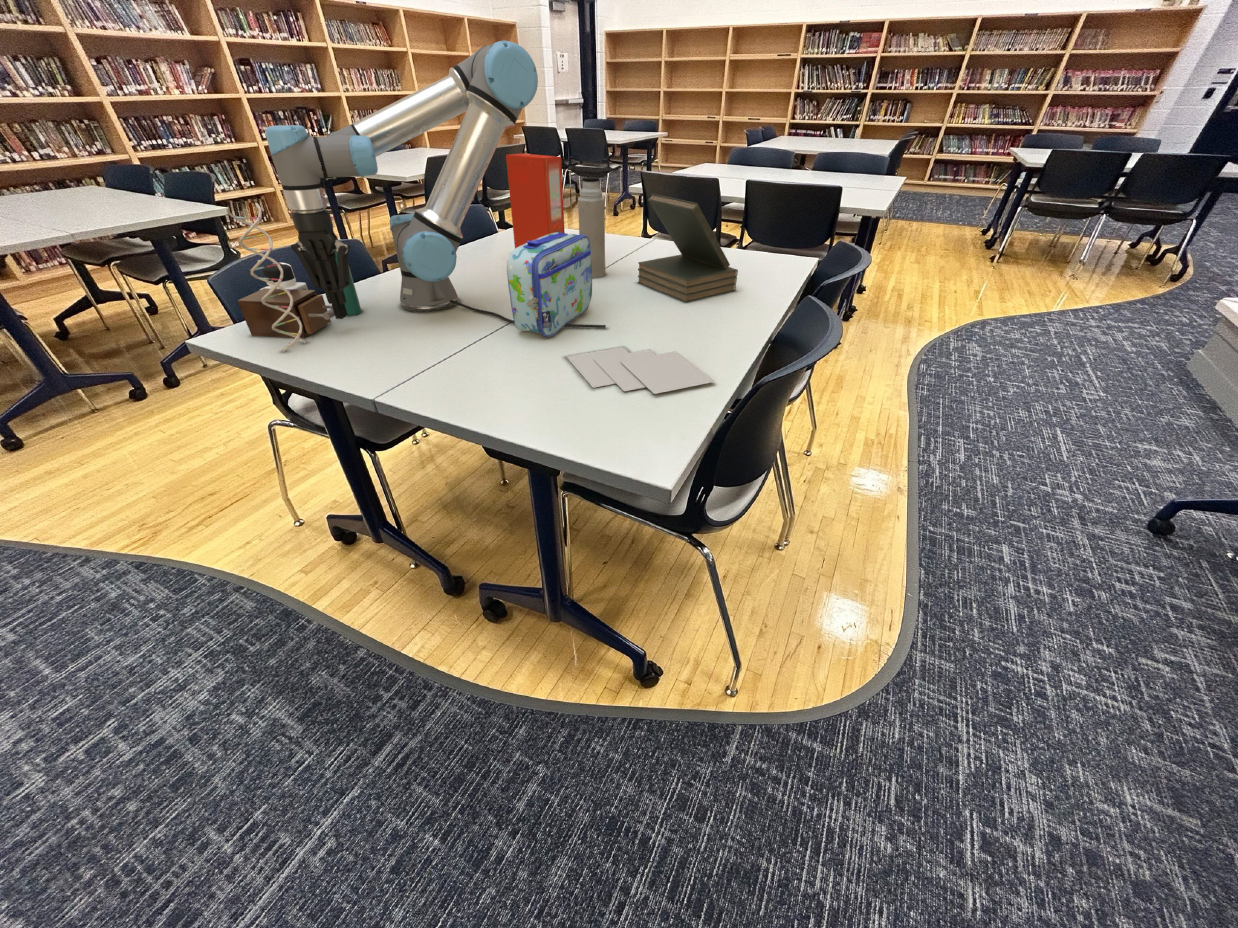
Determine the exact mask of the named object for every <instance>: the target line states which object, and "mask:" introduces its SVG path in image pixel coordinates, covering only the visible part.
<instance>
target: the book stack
mask: <svg viewBox="0 0 1238 928" xmlns="http://www.w3.org/2000/svg"><path fill="white" fill-rule="evenodd" d="M647 201H648V202H649V204H650V206H651V207H652V209H653V211H654V212H655V214H656V216H657V217H658V219H659V220H660V223H662V225H663V227H664V228H665V230H666V232H667V233H668V236H669V237H670V238H671V240H672V241H673V243H674V245H675V246H676V248H677V249H678V251H679V252H680V254H675V255H671V256H666V257H660V258H654V259H649V260H643V261H638V262H637V264H639V265H638V268H637V271H638V275H637V278H638V281H637V284H639V285H641V286H643V287H646V288H648V289H651V290H653V291H656V292H658V293H660V294H663V295H666V296H667V297H671V298H673V299H675V300H677V301H680V302H683V303H685V304H687V303H690V302H694V301H698V300H703V299H707V298H711V297H715V296H719V295H723V294H727V293H733V292H735V291H736V288H737V283H738V282H737V281H738V273H739V269H737V268H734V267H730V266H731V263H730V262H729V260H728V258H727V256H726V254H725V253H724V251H723V248H722V246H721V244H719V243H720V242H719V241H718V239H717V237H716V236H715V234H714V232H713V230H712V228H711V226H710V224H709V223H708V221H707V219H706V217H705V215H704V214H703V212H702V209H701V208H700V206H699V204H698V202H693V201H688V200H684V199H679V198H675V197H671V196H666V195H660V194H656V193H651V196H650V198H647Z"/></svg>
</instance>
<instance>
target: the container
mask: <svg viewBox="0 0 1238 928" xmlns="http://www.w3.org/2000/svg"><path fill="white" fill-rule="evenodd" d="M274 264H275V263H273V262H272V263H267V264H265V265H264V266H263V267H264V268H262V269H261V272H262V275H263V278H270V279H272V278H273V279H280V275H281V271H280V270H279V268H278V266H277V265H275V266H271V267H267V266H269V265H274ZM280 266H281V268H282V269H283V279H282V281H281V283H280V286H282V287H283V288H285V289H295V290H309V288H308V285H307V283H306V282H299V281H297V279H296V276H295V273H294V271H293V267H292V265H290V264H289V263H286V262H280ZM265 267H266V268H265ZM270 279H268V281H273V282H274V283H277V282H278V280H270ZM266 280H267V279H266ZM266 285H268V286H264V287H262V288H260V289H259V290H261V289H264V288H269V289H271V288H272V287H273V286H274V285H272V284H270V283H267V282H266ZM276 289H280V288H279V287H277V288H276Z"/></svg>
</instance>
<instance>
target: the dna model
mask: <svg viewBox="0 0 1238 928" xmlns="http://www.w3.org/2000/svg"><path fill="white" fill-rule="evenodd" d="M255 206H256V208H257V210H258V214H257V217H255V216H254V217H252V216H251V217H246V216H237V215H234V214H233V213H232V212H231V211H230V207H229V206H226V208H225V212H226V214H227V215H228V216H230V217H231V218H233V219H234V220H236V221H237V222H240V223H243V224H245V225H247V226H249V228H248V229H247V230H246V231H244V233H242V235H241V236H240V237H237V240H238V246H240V248H242V249H244V250H246V251H248V252H251V253H253V254H256V255H258V256H260V257H261V259H258V260H257V262H256V263H255V264H254V265H253V267H252V268H248V270H249V271H250V275H251V276H252V277H253V278H255V279H257V280H259V281H263V282H265V283H266V284H267V283H270V284H272V285H274V286H273V287H272V288H271V289H270V290H269V292H268V293H267V294H266V295H265V296H263V297H262V300H261V302H262V303H263V304H264V305H266V306H268V307H272V308H275V309H278V310H280V311H282V312H285V313H284V314H283V315H282V316H281V317H280V318H279V319H278V320H277V321H276V322H275V323H274V324H273V325H272V329H273V330H274V331H277V332H279V333H282V334H286V335H289V336H292V337H294V338H293V340H291V341H290V342H289V343H288V345H286V346H285V347H284V348H283V349H282V352H283V353H284V352H286V351H287V350H288V349H289V348H290V347H292V346H293V345H294V344H295V343H296V342H297V340H299V341H300V342H302V343H303V344H306V343H307V341H305V340H304V338H299V337H300V335H301V333H302V323H301V321H300V320H299V318H300V317H296V316H295V315H294V314H293V313H291V312H290V310H291V308H292V306H293V298H292V296H291V294H290V290H286V289H285V288H283V287H282V286H280V283H281V281H282V279H283V269H282V268H281V266H280V263H281V262H277V260H275V259H274V258H272V257H271V256H269V255H270V253H271V252H272V251H273V247H274V241H273V239H272V237H271V236H270V234H269V233H268V232H266V231H265V230H264V229H262V228H261V227H259V226H258V224H259V223H260V221H261V219H262V218H263V216H262V215H263V214H262V212H263V211H262V208H261V206H260V204H259V203H258V202H255ZM247 219H248V220H255V221H254V222H253V223H252V222H248V221H247ZM254 229H256V230H258V231H259V232H261V234H257V235H252V236H248V235H249V234H250V233H251V232H252V231H253V230H254ZM263 236H266V238H267V241H268V246H269V248H257V247H248V246H246V245H245V244H244V243H243V240H249V239H253V238H259V237H263ZM259 251H260V252H259ZM262 251H266V252H265V253H262ZM265 260H269V261H270V262H272V263H275V264H274V265H269V266H267V267H271V266H275V265H277V266H278V268H279V270H280V271H281V275H280V279H273V278H272V279H270V278H265V277H261V276H258V275H257V274H256V273H254V271H257V270H262V268H264V266H260V265H261V264H262V263H263V262H264V261H265ZM265 268H266V267H265ZM266 279H267V280H266ZM268 279H270V280H278V282H277V283H274V282H273V281H268ZM277 287H279V288H280V289H282V290H284V291H285V292H283V293H280V294H278V295H281V294H284V293H287V294H288V296H289V297H290V305H289V307H287V306H281V307H284V308H288V309H287V311H286V310H284V309H282V308H279V306H273V305H270V304H267V303H266V302H265V299H267V298H270V297H274V296H277V294H276V295H272V296H269V295H270V294H271V293H272V292H273V291H274V290H275V289H276V288H277ZM268 296H269V297H268ZM288 314H289V315H291V316H293V317H294V318H295V319H292V320H289V321H287V322H291V321H294V320H297V321H298V323H299V325H300V329H299V332H298V334H297V333H291V334H290V333H289V332H284V331H281V330H278V329H276V328H275V327H276V326H279V325H282V324H284V322H283V323H280V324H278V323H279V322H280V321H281V320H283V319H284V318H285V317H286V316H287V315H288ZM285 323H286V322H285ZM295 335H297V336H295Z"/></svg>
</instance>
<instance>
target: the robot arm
mask: <svg viewBox="0 0 1238 928" xmlns="http://www.w3.org/2000/svg"><path fill="white" fill-rule="evenodd" d="M538 85H539V76H538V71H537V68H536V65H535V61H534V59H533V58H532V56H531V55H530V53H529V52H528V51H527V50H526V49H525V48H524V47H523V46H521V45H520V44H518V43H516V42H513V41H508V40H499V41H496V42H494V43H491V44H486V45H484V46H482V47H480V48H479V49H477V50H476V51H475V52H473V53H472V54H471V55H470V56H468V57H467V58H465V59H464V60H462V61H461V62H459V63H457V64H455V65H454V66H452V67H449V71H448V75H446V76H444V77H442V78H440V79H438V80H436V81H434V82H432V83H430V84H428V85H426V86H424V87H422V88H420V89H418V90H416V91H414V92H412V93H410V94H408V95H406V96H404V97H402V98H400V99H398V100H396V101H394V102H391V103H390V104H387V105H386V106H384V107H382V108H380V109H378V110H376V111H375V112H372V113H370V114H368V115H367V116H366V115H365V116H364V117H362V118H360V119H357V121H354V122H352V123H351V124H349V125H347V126H344V127H342V128H340V129H338V130H334V131H332V132H331V131H330V132H329V133H327V135H326V136H313V135H309V133H308V132H307V129H306V128H305V126H303V125H301V124H300V125H297V124H294V125H293V124H292V125H291V124H289V125H288V124H282V125H270V126H268V127H266V129H265V131H264V134H265V138H266V142H267V145H268V148H269V153H270V156H271V159H272V162H273V164H274V167H275V171H276V173H277V176H278V180H279V183H280V185H281V188H282V192H283V195H284V198H285V201H286V205H287V208H288V209H289V210H290V211H292V212H291V213H290V216H291V220H292V222H293V225H294V229H295V230H296V231H297V233H298V235H297V239H298V240H297V241H296V242H295V243H292V244H291V245H290V249H291V250H292V251H293V253H295V254H296V255H297V257H298V259H299V261H300V262H301V264H302V266H303V268H304V270H305V271H306V274H307V275H308V278H309V279H310V281H311V283H312V285H313V286H314V288H317V289H322V290H323V291H324V294H325V298H326V300H327V303H328V305H331V306H332V308H333V311H334V314H335V316H334V317H335V319H336V320H343V319H344V318H346V317H348V316H347V315H348V314H347V311H346V307H345V304H344V303H346V298H345V294H344V291H343V289H344V288H345V287H347V286H349V285H350V279H349V268H350V265H349V264H350V263H349V252H350V250H351V246H350V243H344V242H342V241H340V240H339V238H338V236H337V235H336V233H335V231H334V223H333V220H332V217H331V213H330V211H329V210H328V209H326V208H328V203H327V200H326V196H325V193H324V189H323V186H322V182H321V179H328V178H349V177H361V178H364V177H368V176H375V175H377V174H378V171H379V168H378V161H377V157H379V156H380V155H383V154H385V153H386V152H388V151H390V150H392V149H394V148H397V147H398V146H400V145H402V144H404V143H406V142H408V141H411V140H412V139H415V138H416V137H418V136H420V135H422V134H424V133H426V132H428V131H430V130H432V129H434V128H436V127H438V126H440V125H442V124H443V123H445V122H448V121H450V120H451V119H453V118H455V117H457V116H460V115H462V114H464V116H463V119H462V121H461V123H460V126H459V128H458V130H457V133H456V134H455V138H454V140H453V142H452V144H451V147H450V149H449V151H448V153H447V156H446V158H445V160H444V163H443V164H442V168H441V170H440V172H439V174H438V176H437V179H436V181H435V182H434V183H435V184H434V186H433V188H432V190H431V192H430V194H429V198H428V200H427V201H426V205H425V206H423V207H421V208H420V207H419V208H417V209H415V211H414V213H406V214H395V215H392V216H390V218H389V231H390V232H391V235H392V239H393V243H394V248H395V252H396V257H397V261H398V266H399V270H400V274H401V282H400V295H399V302H400V306H401V308H402V309H403V310H406V311H409V312H414V313H430V312H438V311H443V310H447V309H449V308H453V307H454V306H455V305H457V306H458V307H461V308H464V309H468V310H470V311H474V312H477V313H481V314H487V315H491V316H494V317H496V318H499V319H501V320H503V321H506V322H507V323H509V324H510V323H511V324H514V325H515V323H514V319H510V318H508V317H505V316H503V315H501V314H499V313H497V312H493V311H490V310H484V309H480V308H476V307H472V306H469V305H467V304H464V303H462V302H459V298H458V293H457V291H456V289H455V287H454V284H453V282H452V281H451V279H450V276H451V274H453V272H454V270H455V268H456V265H457V258H458V256H457V252H458V249H459V247H460V245H461V242H462V241H463V238H464V235H463V233H462V230H461V226H462V224H463V222H464V219H465V217H466V215H467V213H468V210H469V209H470V207H471V204H472V202H473V199H474V197H475V195H476V193H477V191H478V189H479V186H480V185H481V182H482V180H483V178H484V176H485V173H486V171H487V169H488V167H489V165H490V163H491V160H492V158H493V156H494V154H495V152H496V150H497V147H498V146H499V143H500V141H501V138H502V137H503V134H504V132H505V130H507V129H511V128H514V127H515V125H516V123H517V121H518V119H519V117H520V114H521V113H522V111H523V109H524V108H526V107H527V106H528V105H529V104H530V103H531V102H532V101H533V99H534V98H535V96H536V94H537V91H538ZM335 248H336V251H337V252H338V253H337V262H338V266H337V263H336V260H335V258H336V255H335V252H334V250H335ZM606 326H607V325H606V324H585V323H584V324H583V323H582V324H581V323H579V324H577V323H576V324H575V323H568V324H566V325H565V326H564V327H563V328H591V329H596V328H597V329H606Z"/></svg>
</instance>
